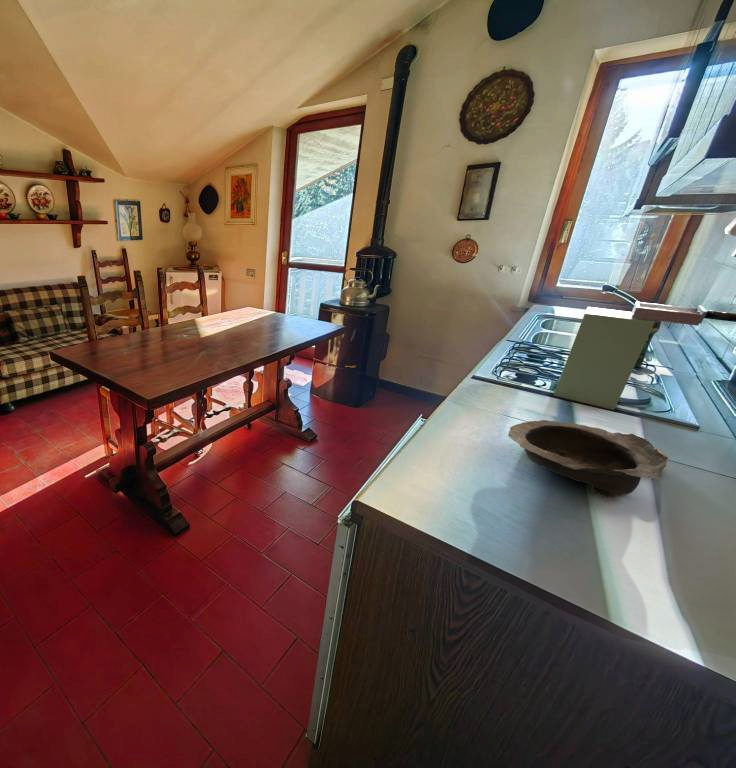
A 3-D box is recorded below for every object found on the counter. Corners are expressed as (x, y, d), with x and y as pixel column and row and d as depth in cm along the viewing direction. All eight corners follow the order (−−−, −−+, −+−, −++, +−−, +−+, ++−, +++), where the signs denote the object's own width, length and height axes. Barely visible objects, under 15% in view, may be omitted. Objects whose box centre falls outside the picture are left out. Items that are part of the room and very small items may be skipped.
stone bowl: (684, 522, 70) (705, 480, 67) (519, 498, 79) (530, 459, 75) (614, 449, 91) (627, 415, 88) (490, 436, 100) (497, 404, 97)
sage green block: (614, 397, 120) (652, 314, 110) (614, 410, 112) (654, 322, 102) (557, 384, 129) (587, 306, 118) (553, 395, 121) (584, 313, 110)
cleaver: (761, 326, 97) (769, 312, 95) (770, 334, 90) (779, 319, 89) (631, 311, 112) (637, 298, 110) (632, 317, 105) (637, 304, 103)
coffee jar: (607, 363, 148) (627, 315, 141) (606, 357, 154) (626, 311, 146) (642, 369, 143) (666, 319, 135) (640, 363, 148) (662, 315, 141)
